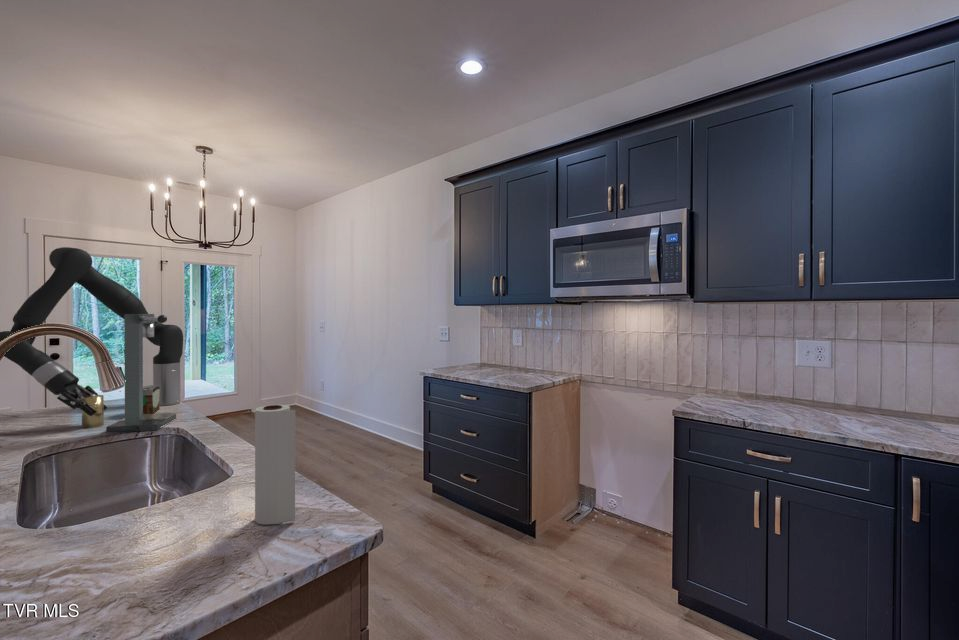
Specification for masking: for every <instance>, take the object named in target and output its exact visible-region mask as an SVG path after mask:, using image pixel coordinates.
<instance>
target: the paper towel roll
mask: <svg viewBox="0 0 959 640" xmlns="http://www.w3.org/2000/svg"><path fill="white" fill-rule="evenodd" d="M254 416H255V417H254V419H255V420H254V460H255V461H254V463H255V464H254V470H255V471H254V521H255V523H256V524H258V525H263V526H264V525H278V524H279V525H280V524H283V523H288V522H290V523H291V522H296V409H291V406H290V405H287V404H269V405H263V406H259V407H257V408H255V411H254Z"/></svg>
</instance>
